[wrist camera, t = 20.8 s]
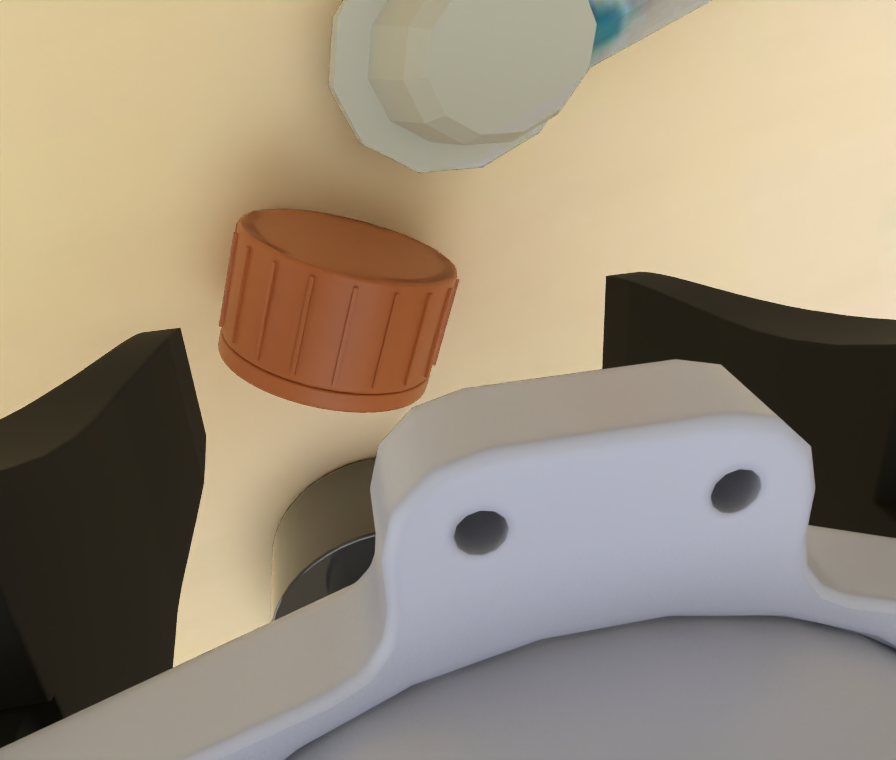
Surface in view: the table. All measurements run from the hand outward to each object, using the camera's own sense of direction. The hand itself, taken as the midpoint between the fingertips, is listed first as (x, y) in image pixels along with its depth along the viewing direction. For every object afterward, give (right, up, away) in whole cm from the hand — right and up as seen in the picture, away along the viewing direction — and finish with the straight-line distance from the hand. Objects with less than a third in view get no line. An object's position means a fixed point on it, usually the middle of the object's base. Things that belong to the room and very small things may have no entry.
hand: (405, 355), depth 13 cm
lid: (-2, +3, +7) cm, 8 cm away
